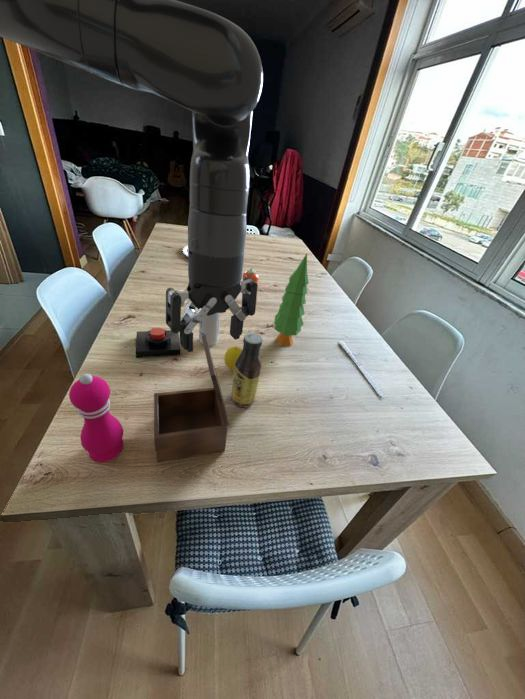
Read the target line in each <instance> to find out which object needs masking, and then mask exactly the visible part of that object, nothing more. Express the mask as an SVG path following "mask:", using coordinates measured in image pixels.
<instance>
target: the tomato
mask: <svg viewBox="0 0 525 699" xmlns="http://www.w3.org/2000/svg"><path fill="white" fill-rule="evenodd" d="M245 277H249V278H250V279H252V280H253V281H254V282H256V283H257V284H258V282H259V279H260V275H259V274H258V272H257V271H256V270H254V269H253V268H252V267H251V268H250V269H248V270H245V271H244V272H242V279H241V280H243V279H244V278H245Z"/></svg>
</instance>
